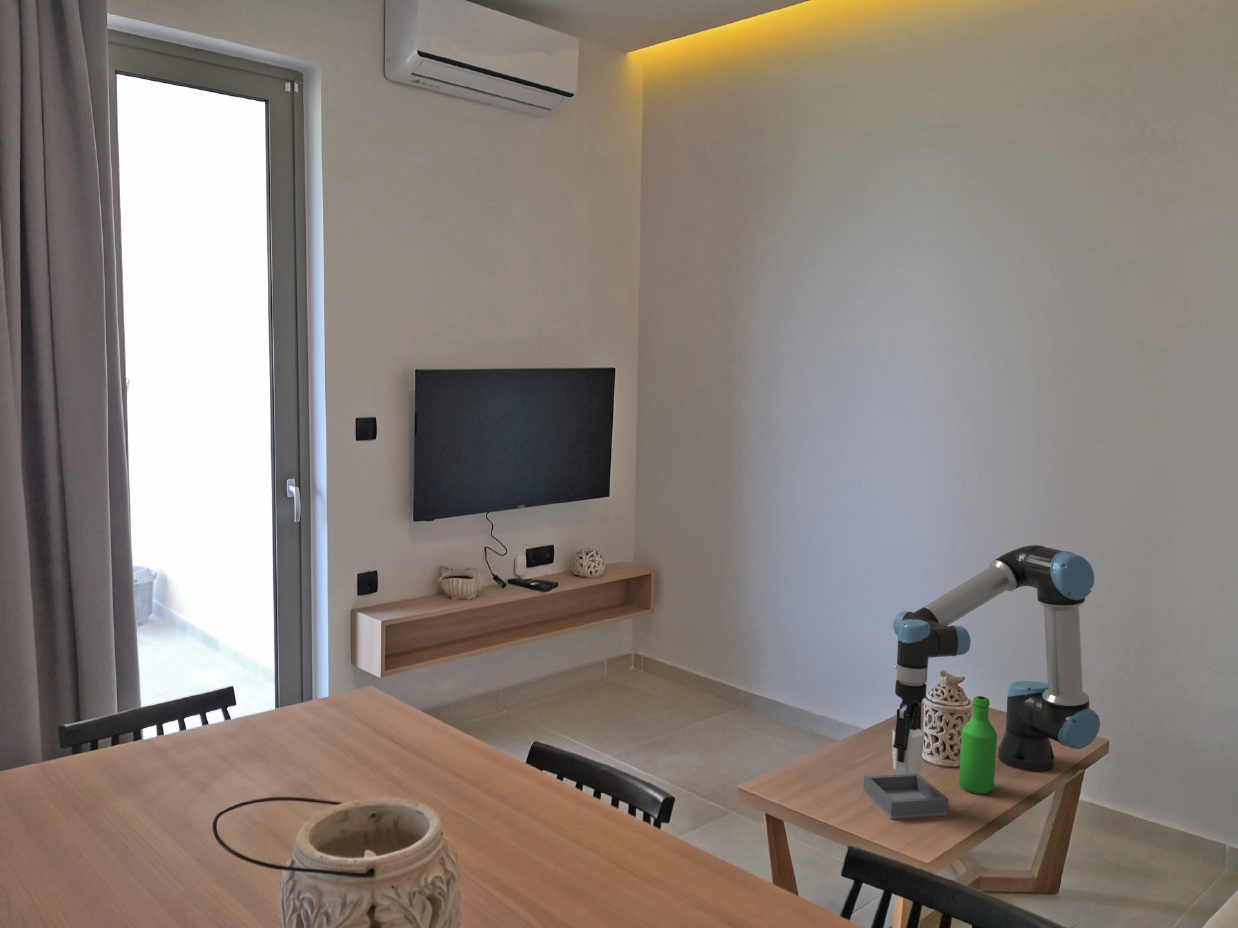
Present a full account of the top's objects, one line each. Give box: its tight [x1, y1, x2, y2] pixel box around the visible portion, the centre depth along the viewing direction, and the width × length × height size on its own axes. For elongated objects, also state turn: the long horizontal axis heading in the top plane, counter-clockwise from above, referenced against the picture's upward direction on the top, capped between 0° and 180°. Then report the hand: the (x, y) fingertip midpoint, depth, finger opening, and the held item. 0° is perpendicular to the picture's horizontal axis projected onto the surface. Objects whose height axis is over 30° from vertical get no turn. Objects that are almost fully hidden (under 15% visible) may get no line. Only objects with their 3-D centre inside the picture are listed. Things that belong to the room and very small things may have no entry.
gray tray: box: [863, 773, 950, 820], centre depth 243 cm, size 15×15×4 cm
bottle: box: [958, 695, 998, 795], centre depth 253 cm, size 9×9×25 cm
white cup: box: [891, 726, 925, 774], centre depth 242 cm, size 8×8×10 cm
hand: (906, 767), depth 243 cm, fingers closed on white cup, 7 cm apart
